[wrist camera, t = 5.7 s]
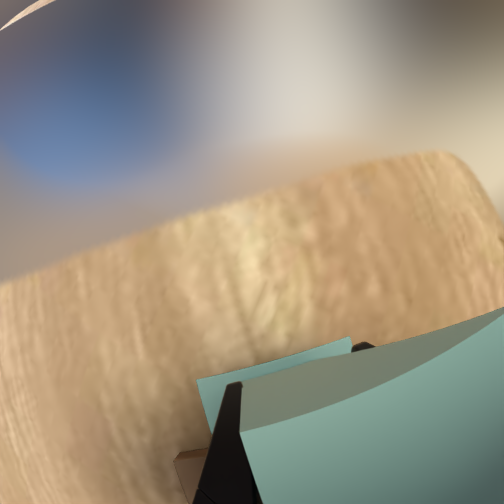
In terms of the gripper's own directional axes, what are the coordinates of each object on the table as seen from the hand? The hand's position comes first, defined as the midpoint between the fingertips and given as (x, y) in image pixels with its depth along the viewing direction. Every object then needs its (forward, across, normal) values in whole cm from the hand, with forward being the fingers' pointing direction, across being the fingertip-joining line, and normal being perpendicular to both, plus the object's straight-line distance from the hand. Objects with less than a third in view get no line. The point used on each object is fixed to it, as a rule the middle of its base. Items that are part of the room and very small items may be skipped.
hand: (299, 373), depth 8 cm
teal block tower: (+2, 0, +9) cm, 9 cm away
